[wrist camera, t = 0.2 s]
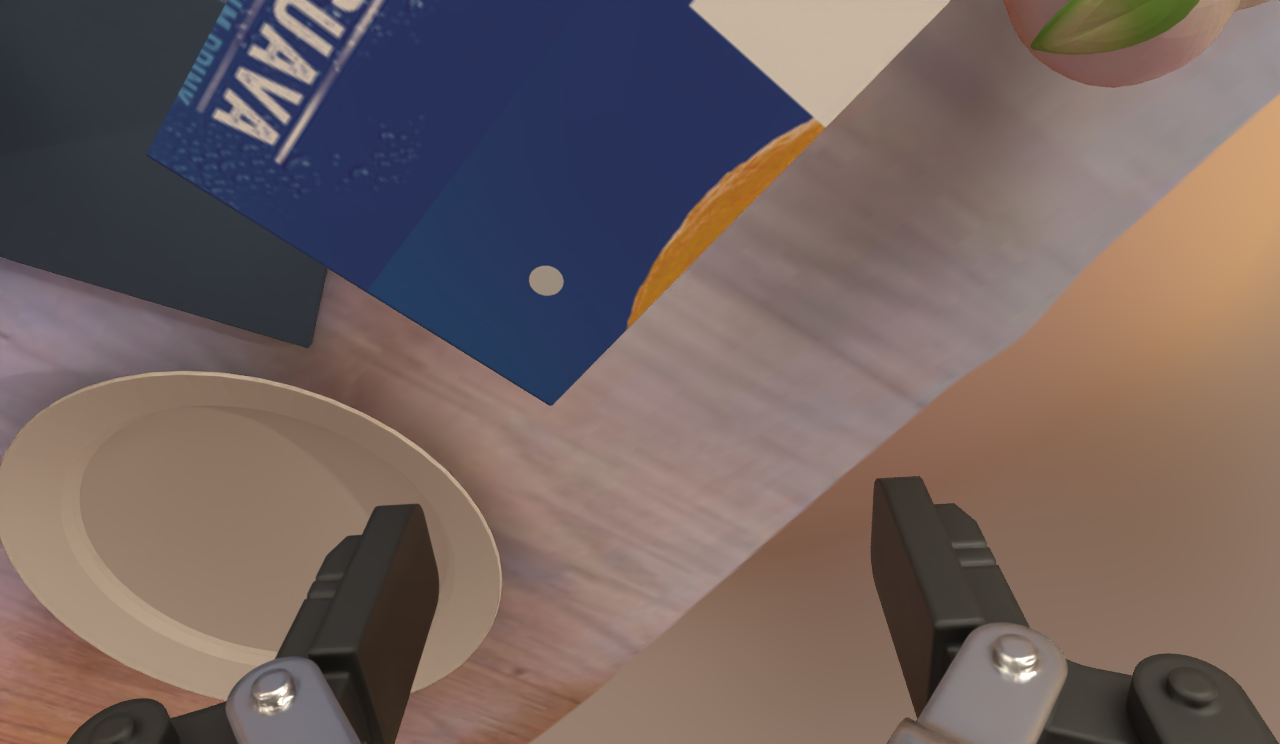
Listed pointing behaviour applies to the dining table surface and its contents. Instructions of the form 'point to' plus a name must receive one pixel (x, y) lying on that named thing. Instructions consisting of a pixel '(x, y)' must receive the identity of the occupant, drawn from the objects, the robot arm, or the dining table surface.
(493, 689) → the dining table surface
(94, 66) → the mat
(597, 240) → the beverage box
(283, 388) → the plate
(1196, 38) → the decorative fruit
